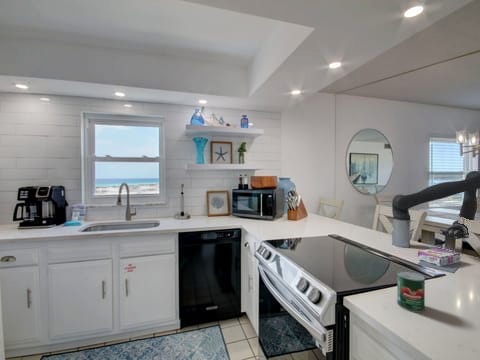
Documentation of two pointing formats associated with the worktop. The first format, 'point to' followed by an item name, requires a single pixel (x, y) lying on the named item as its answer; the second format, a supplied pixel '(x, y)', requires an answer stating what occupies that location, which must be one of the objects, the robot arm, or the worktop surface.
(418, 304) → the canned tomato
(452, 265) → the rubber mat
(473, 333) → the worktop surface
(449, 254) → the candy bar box
